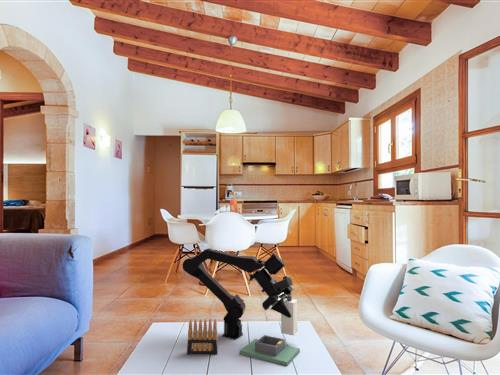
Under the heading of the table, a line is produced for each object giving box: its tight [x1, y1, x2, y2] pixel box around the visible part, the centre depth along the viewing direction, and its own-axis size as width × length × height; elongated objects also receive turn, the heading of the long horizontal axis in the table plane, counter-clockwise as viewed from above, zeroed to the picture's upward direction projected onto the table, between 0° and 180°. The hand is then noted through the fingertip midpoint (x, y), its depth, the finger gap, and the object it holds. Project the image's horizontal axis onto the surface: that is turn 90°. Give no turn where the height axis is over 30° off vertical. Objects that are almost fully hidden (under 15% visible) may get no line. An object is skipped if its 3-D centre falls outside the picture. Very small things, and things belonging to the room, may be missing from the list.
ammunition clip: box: [186, 318, 218, 356], centre depth 117 cm, size 11×2×12 cm, turn 90°
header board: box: [239, 334, 301, 367], centre depth 118 cm, size 18×12×4 cm, turn 62°
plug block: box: [280, 294, 299, 337], centre depth 127 cm, size 5×4×14 cm
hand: (292, 315), depth 126 cm, fingers closed on plug block, 4 cm apart
